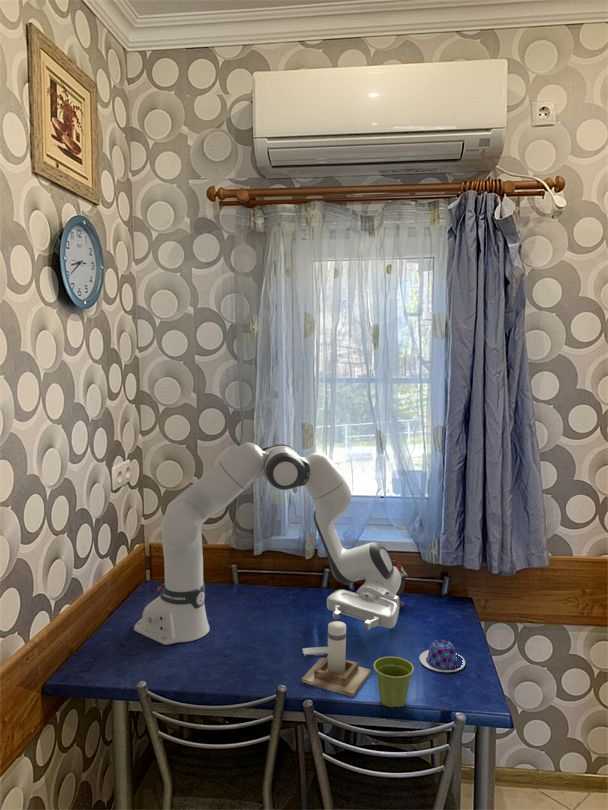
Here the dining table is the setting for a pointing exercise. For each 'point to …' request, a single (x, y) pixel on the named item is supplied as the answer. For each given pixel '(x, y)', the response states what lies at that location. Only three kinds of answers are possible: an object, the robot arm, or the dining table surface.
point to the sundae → (403, 577)
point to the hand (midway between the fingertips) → (350, 621)
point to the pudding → (441, 656)
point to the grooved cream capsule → (336, 647)
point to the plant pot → (393, 680)
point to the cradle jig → (337, 677)
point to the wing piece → (315, 651)
